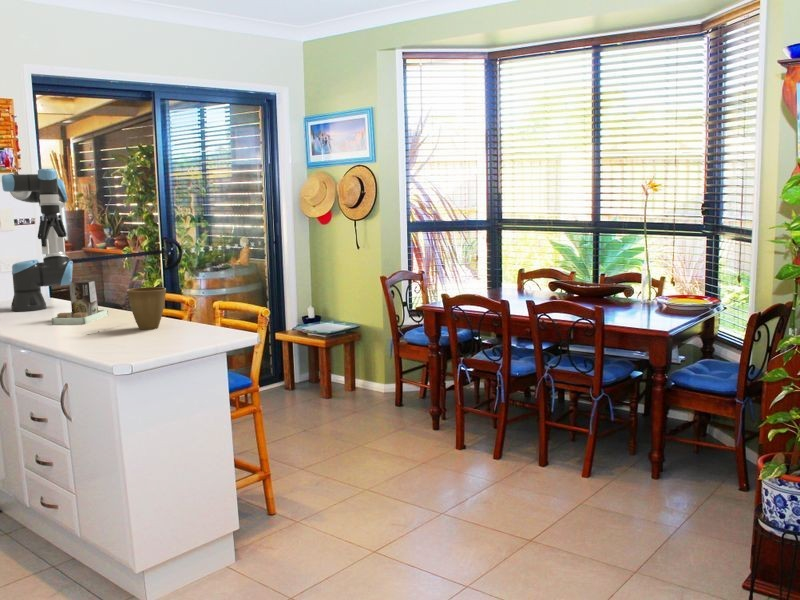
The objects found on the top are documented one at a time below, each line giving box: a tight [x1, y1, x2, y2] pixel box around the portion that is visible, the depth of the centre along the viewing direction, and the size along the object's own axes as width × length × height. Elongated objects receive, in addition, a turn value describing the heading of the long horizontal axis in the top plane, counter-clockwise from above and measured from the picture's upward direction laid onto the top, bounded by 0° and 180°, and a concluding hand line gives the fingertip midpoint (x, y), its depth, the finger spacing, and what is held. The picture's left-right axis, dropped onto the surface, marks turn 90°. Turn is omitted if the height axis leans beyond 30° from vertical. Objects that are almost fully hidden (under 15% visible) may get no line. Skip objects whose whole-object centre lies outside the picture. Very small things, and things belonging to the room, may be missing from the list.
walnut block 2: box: [73, 312, 88, 318], centre depth 316 cm, size 4×4×4 cm
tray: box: [51, 309, 109, 326], centre depth 323 cm, size 22×14×4 cm, turn 177°
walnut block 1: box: [56, 312, 71, 318], centre depth 316 cm, size 4×4×4 cm
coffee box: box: [68, 280, 99, 318], centre depth 326 cm, size 9×6×16 cm
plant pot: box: [126, 286, 167, 330], centre depth 305 cm, size 15×15×16 cm
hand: (53, 253), depth 335 cm, fingers open, 13 cm apart
